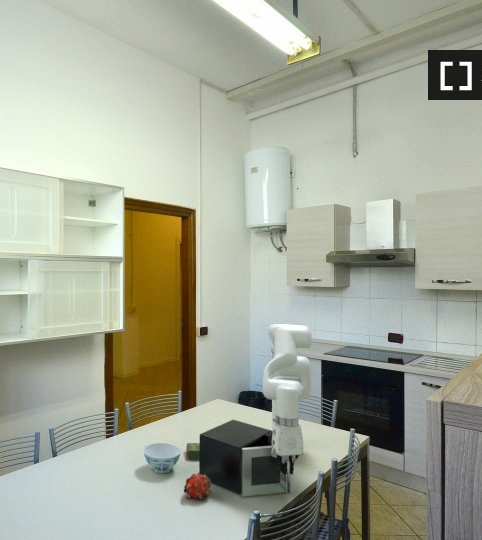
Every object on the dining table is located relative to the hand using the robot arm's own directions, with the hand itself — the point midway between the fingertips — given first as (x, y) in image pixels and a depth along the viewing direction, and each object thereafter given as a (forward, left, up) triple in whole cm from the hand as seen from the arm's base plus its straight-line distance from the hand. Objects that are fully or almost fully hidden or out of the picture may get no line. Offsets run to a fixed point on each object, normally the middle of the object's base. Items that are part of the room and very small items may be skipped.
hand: (286, 472), depth 152 cm
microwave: (-3, -21, -9) cm, 23 cm away
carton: (-9, -41, -10) cm, 43 cm away
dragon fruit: (+21, -23, -10) cm, 33 cm away
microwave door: (+4, -5, -9) cm, 11 cm away
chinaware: (+14, -46, -10) cm, 50 cm away
